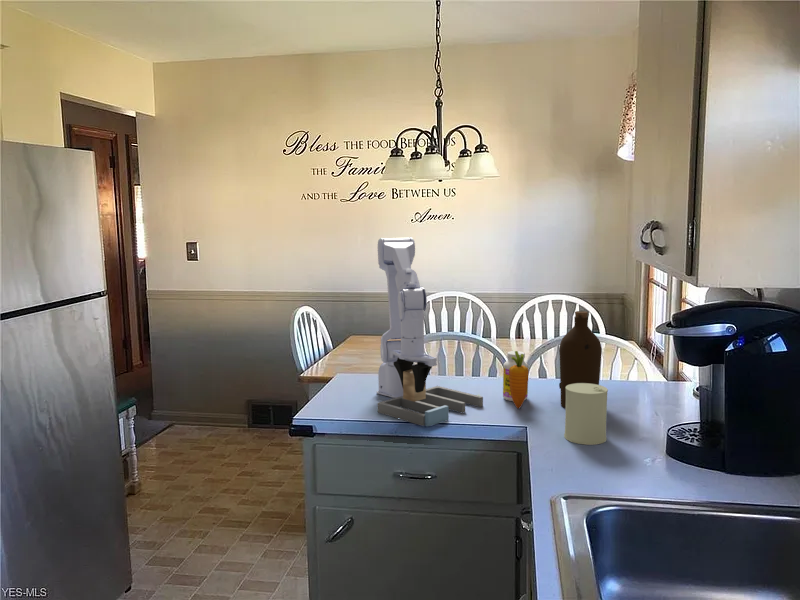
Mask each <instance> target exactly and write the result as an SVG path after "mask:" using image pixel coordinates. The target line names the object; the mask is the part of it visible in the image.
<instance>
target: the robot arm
mask: <svg viewBox="0 0 800 600" xmlns="http://www.w3.org/2000/svg"><path fill="white" fill-rule="evenodd" d="M415 256H416V243H415V239H414V238H413V237H411V236H410V237H391V238H390V237H389V238H388V237H385V238H383V237H380V238H379V239H378V241H377V263H378V268H379V269H380V270H382V271H384V272H385V276H386V283H387V299H388V314H389V315H388V316H389V318H388V319H389V329H388V330H387V331H385V332H384V333H383V334H382V335H381V337H380V346H379V348H380V350H379V351H380V359H381V362H382V363H381V364H380V365H379V367H378V373H377V374H378V377H377V378H378V380H377V381H378V390H377V391H376V394H378V395H382V396H386V397H389V398H391V399H393V398H396V397H400V396H403V371H407V370H412V371H413V374H414V380H415V390H416V392H417V393H418V392H422V391H423V390H424V385H425V382H426V381H427V378H428V376H429V373H430V371H431V370H432V368H433V367H436V366H437V365H438V364H437V363H438V362H437V357H435V356H432V355H429V354H428V353H425V313H424V312H426V310H427V301H428V300H427V299H428V298H427V293H426V288H425V287H423V286H422V285H421V284H420V280H419V277H418V273H417V272H416V271H415V269H412V264H413V262H414V258H415ZM415 363H416V364H415ZM426 383H427V382H426Z"/></svg>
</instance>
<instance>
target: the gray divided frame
mask: <svg viewBox="0 0 800 600" xmlns="http://www.w3.org/2000/svg"><path fill="white" fill-rule="evenodd" d="M466 404H467V405H469V406H470V405H471V406H475V407H479V408H482V407H484V397H483V396H480V395H477V394H472V393H467V392H464V391H460V390H456V389H451V388H447V387H445V386H440V385H439V386H438V385H436V386H432V387H428V388H426V399H423V400H419V401H415V402H414V401H410V400H407V399H403V396H400V397H396V398H390V399H386V400H382V401H379V402H377V413H378V414H383V415H386V416H389V417H392V418H395V419H398V418H399V420H402V421H405V422H409V423H412V424H415V425H418V426H421V427H425V426H426V427H431V426H434V425H438V424H440V423H443V422H446V420H447V421H449V420H450V418H449V417H450V416H449V413H450V411H453V410H454V411H453V412H457V411H458V413H460V412H462V413H461V414H464V413H466ZM449 409H450V411H449ZM463 412H464V413H463ZM448 419H449V420H448Z"/></svg>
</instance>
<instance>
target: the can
mask: <svg viewBox="0 0 800 600" xmlns="http://www.w3.org/2000/svg"><path fill="white" fill-rule="evenodd" d="M608 391H609V389H608V388H607V387H606V386H604V385H601V384H599V385H597V384H590V383H574V384H569V385H567V386H566V408H565V414H564V415H565V418H564V420H565V422H564V424H565V425H564V434H563V438H564V439H565V440H567V441H568V442H571V443H574V444H579V445H583V446H584V445H585V446H586V445H587V446H589V445H591V446H592V445H593V446H594V445H601V444H604V443H605V442H606V441H607V408H608Z"/></svg>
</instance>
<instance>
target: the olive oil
mask: <svg viewBox="0 0 800 600" xmlns="http://www.w3.org/2000/svg"><path fill="white" fill-rule="evenodd" d="M574 315H575V316H574V325H573V327H572V328H571V329H570V330H569V331H568V332H567V333H566V334H564V336H563V337H562V339H561V341H560V343H559V348H558V349H559V352H558V353H559V377H560V379H559V384H558V387H559V389H560V406H561V407H563V408H564V409H566V386H567V385H569V384H574V383H590V384H597V385H600V379H601V378H600V375H601V363H602V354H603V353H602V350H603V348H602V343H601V341H600V339H599V338H598V336H597V334H595V333H594V332H593V331H592V330H591V329H590V327H589V326H588V325H589V317H588V315H589V313H588V311H585V310H576V311H574Z"/></svg>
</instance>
